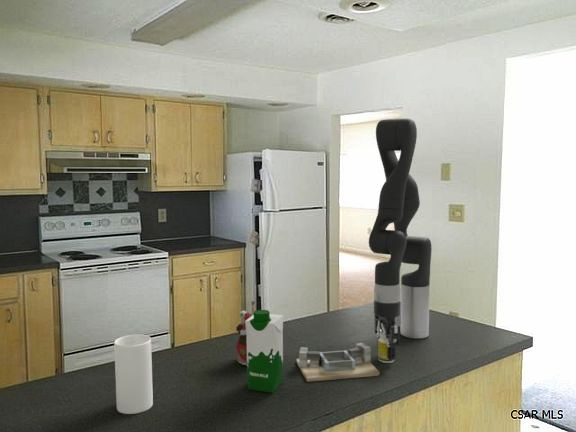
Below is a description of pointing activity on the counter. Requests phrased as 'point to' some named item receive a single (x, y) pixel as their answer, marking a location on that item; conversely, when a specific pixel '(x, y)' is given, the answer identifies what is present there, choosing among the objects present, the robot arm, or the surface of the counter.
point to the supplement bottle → (383, 349)
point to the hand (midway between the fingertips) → (386, 354)
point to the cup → (133, 373)
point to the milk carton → (264, 351)
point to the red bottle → (243, 336)
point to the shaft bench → (336, 364)
